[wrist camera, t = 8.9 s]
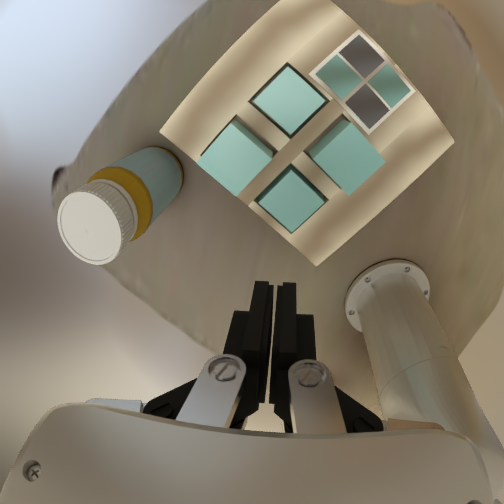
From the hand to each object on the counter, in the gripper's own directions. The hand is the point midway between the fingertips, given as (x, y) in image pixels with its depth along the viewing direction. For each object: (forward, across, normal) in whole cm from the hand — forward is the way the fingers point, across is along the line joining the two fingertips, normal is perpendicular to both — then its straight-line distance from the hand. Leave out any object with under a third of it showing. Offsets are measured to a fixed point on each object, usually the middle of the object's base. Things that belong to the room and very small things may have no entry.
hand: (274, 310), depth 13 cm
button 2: (+22, -1, +1) cm, 22 cm away
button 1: (+19, -6, -4) cm, 20 cm away
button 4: (+19, +4, -3) cm, 20 cm away
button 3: (+22, 0, -9) cm, 23 cm away
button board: (+23, -3, -6) cm, 24 cm away
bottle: (+22, +15, -1) cm, 27 cm away
